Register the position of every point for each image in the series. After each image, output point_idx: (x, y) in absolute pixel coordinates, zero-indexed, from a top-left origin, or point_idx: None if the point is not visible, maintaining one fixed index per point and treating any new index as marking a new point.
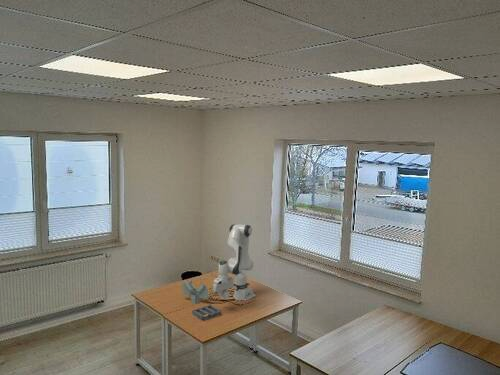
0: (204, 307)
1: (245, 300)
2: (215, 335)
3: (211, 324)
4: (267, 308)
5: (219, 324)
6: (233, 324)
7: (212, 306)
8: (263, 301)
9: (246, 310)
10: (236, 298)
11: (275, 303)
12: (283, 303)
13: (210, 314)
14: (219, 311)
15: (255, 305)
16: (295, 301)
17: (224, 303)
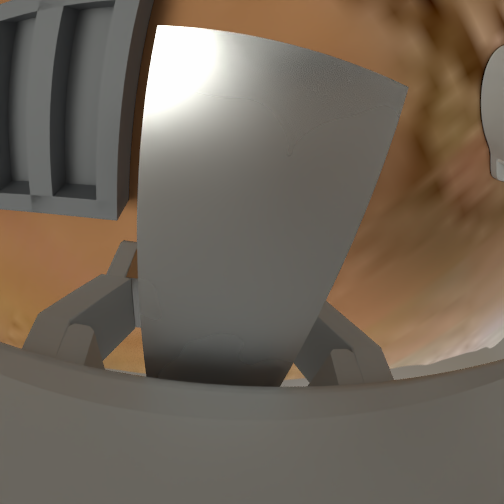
0: (37, 12)
1: (491, 172)
2: None
3: (2, 265)
4: (422, 334)
5: (44, 299)
6: (120, 350)
7: (116, 41)
8: (495, 266)
9: (350, 286)
10: (490, 99)
11: (479, 316)
12: (480, 333)
13: (1, 206)
14: (95, 214)
15: (443, 272)
16: (496, 341)
17: (370, 27)
